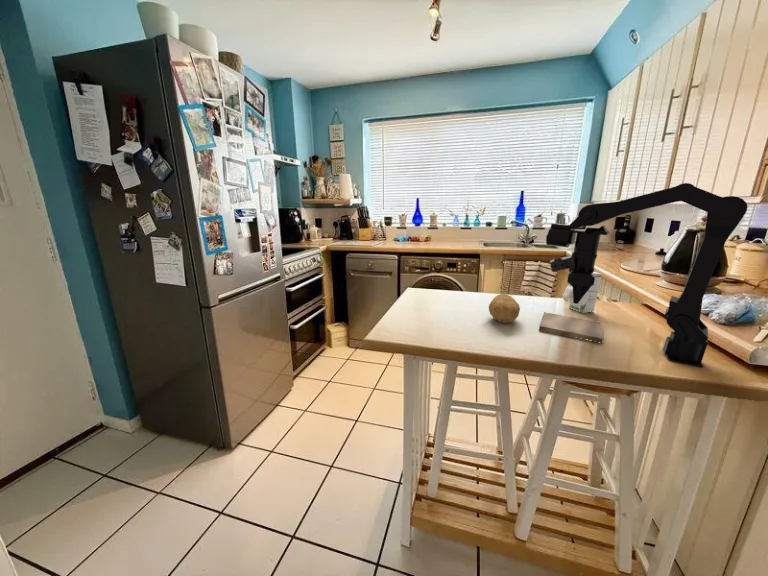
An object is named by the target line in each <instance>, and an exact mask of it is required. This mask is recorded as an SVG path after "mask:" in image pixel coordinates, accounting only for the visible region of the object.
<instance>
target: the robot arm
mask: <svg viewBox="0 0 768 576" xmlns="http://www.w3.org/2000/svg"><path fill="white" fill-rule="evenodd" d="M678 202H683V203H685V204H687V205H690V206H692V207H695V208H696V209H698V210H701V211H704V212H706V219H705V227H704V235H703V236H704V237H703V239H702V242H701V245H700V247H699V250H698V252H697V254H696V257H695V260H694V263H693V265H692V268H691V270H690V273H689V275H688V278H687V280H686V283H685V285H684V288H683V291H682V292H681V294H680V295H679V296H678V297H677V296H673V295H671V297H670V300H669V302H668V303H669V304H668V307H667V308H666V309H665V312H664V315H663V316H664V317H666V324H667V326H668V327H669V328H670V329H672V330H673V331H671V332H670V335H669V336H666V338H665V342H664V344H663V348H662V352H663V354H664V355H665V356H666V358H667V360H669V361H672V362H677V363H682V364H685V365H689V366H696V367H700V368H704V367H705V365H704V364H703V362H702V361H703V359H704V356H705V353H706V350H707V347H708V345H709V340H708V339H709V327H708V326H707V325H706V324H705V323H704V322H703V321H702V320H701V316H702V315H701V314H702V309H703V308H702V307H703V299H704V295H705V293H706V290H707V289H708V286H709V285H710V284H709V283H710V280H711V279H712V277H713V273H714V272H715V268H716V267H717V264H718V261H719V260H720V257H721V254H722V252H723V249H724V247H725V244H726V242H727V240H728V239H729V238H730V236H731V235H732V233H734V231H735V229H736V228H737V226H738V225H739V224H740V222H741V221H742V220H743V218H744V216H746V214H747V211H748V203H747V202H746V201H745V200H744V199H743V198H742V197H739V196H733V195H731V196H730V195H729V196H723V197H722V196H720V195H717V194H715V193H712V192H710V191H707V190H704V189H702V188H700V187H697V186H695V185H694V184H692V183H689V182H683V183H680V184H678V185H676V186H673V187H669V188H665V189H661V190H657V191H653V192H650V193H645V194H641V195H638V196H635V197H631V198H627V199H622V200H619V201H612V202H603V203H595V204H594V203H593V204H587V205H585V206H583V207H582V208H581V209H580V211H578V215H577V217H576V218H575V219H574V220H573V221H572V222H571V223H570V224H562V223H561V224H560V223H557V222H556V223H551V224H550V227H549V229H548V232H547V234H546V236H545V237H546V238H545V244H546V246H550V247H558V248H559V247H561V248H569V247H570V246H571V245H574V247H573V251H572V252H571V255H569V256H563V257H561V256H560V257H557V258H554V259H550V261H549V265H550V269H551V272H552V273H556V272H558V271H562V270H567V269H568V275H567V280H566V282H567V283H568V285H569V284H570V285H571V286H572V287H573V303H575V304H578V303H579V301H580V300H581V299H582V297H583V296H584V295H585V294H586V292H587V291H588V290H589V288H590V287H591V286H592V285H594V281H595V276H594V275H593V274H592V273H593V272H595V263H596V260H597V257H598V250H599V245H600V239H601V236H607V235H609V234H611V232H610V231H609V230H608V228H606V226H605V225H601V226H600V227H599V228H598V227H592V226H597V225H600V224H602V223H604V222H607V221H610V220H612V219H615V218H618V217H621V216H622V215H623V216H624V215H626V214H630V213H634V212H639V211H644V210H646V209H652V208H656V207H659V206H660V207H661V206H665V205H669V204H673V203H678ZM585 227H586V229H585V230H578V229H582V228H585Z"/></svg>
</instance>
